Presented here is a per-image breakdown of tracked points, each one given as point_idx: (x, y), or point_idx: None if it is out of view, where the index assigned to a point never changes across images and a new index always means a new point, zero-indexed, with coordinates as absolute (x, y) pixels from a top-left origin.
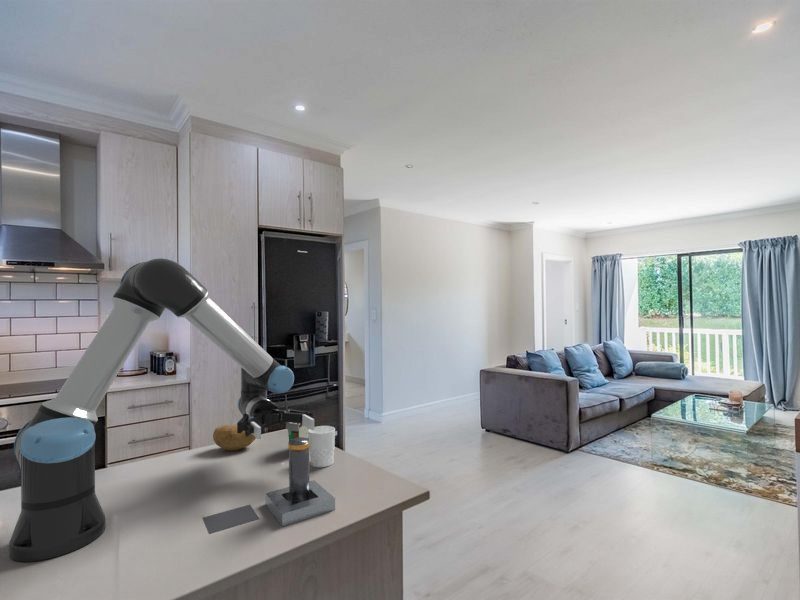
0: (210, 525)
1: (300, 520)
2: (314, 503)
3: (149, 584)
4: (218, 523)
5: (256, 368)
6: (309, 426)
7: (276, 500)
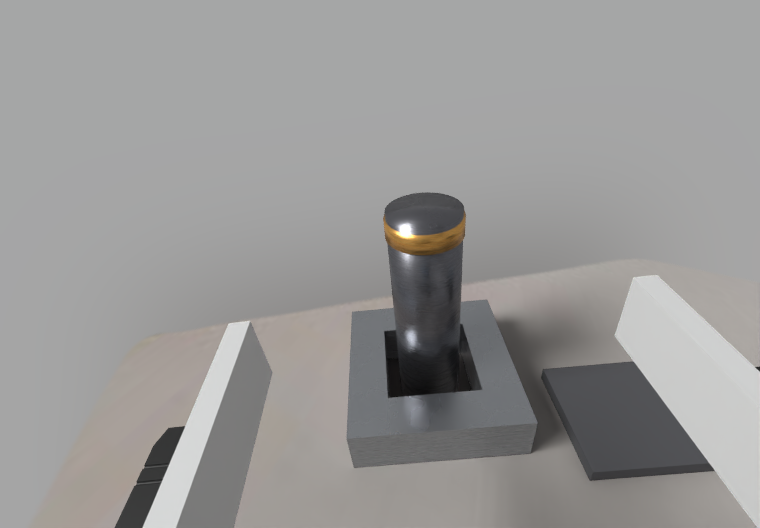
0: None
1: None
2: None
3: (719, 285)
4: None
5: None
6: (258, 392)
7: (498, 360)
